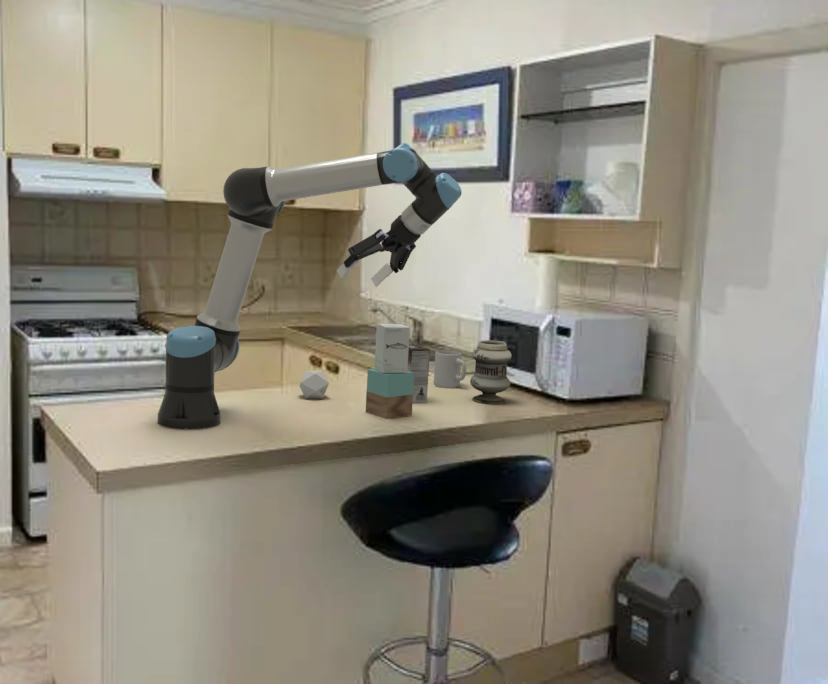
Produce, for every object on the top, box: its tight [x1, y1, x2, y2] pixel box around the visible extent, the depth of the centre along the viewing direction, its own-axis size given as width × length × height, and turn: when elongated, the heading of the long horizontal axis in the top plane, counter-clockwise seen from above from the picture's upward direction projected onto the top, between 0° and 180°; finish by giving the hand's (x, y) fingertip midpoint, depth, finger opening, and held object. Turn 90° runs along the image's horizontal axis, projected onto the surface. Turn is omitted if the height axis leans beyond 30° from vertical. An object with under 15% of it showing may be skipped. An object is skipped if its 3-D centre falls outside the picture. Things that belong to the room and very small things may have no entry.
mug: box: [433, 350, 467, 389], centre depth 285 cm, size 12×8×11 cm
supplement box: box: [373, 323, 411, 373], centre depth 239 cm, size 7×7×13 cm
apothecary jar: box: [469, 339, 512, 405], centre depth 266 cm, size 12×12×18 cm
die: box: [298, 370, 330, 399], centre depth 257 cm, size 8×9×10 cm
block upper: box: [366, 368, 414, 397], centre depth 240 cm, size 9×9×6 cm
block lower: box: [365, 390, 413, 420], centre depth 241 cm, size 9×9×6 cm
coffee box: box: [407, 343, 431, 404], centre depth 261 cm, size 9×6×16 cm
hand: (357, 278), depth 230 cm, fingers open, 13 cm apart
